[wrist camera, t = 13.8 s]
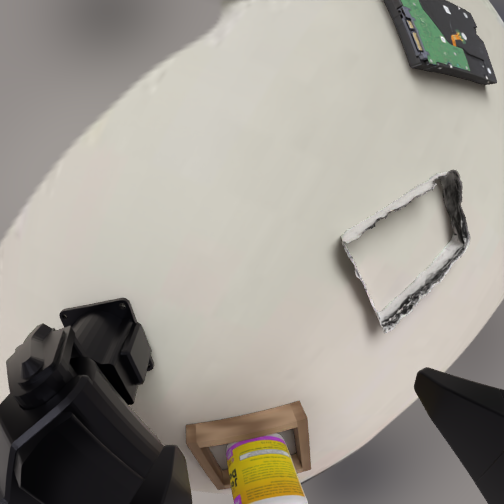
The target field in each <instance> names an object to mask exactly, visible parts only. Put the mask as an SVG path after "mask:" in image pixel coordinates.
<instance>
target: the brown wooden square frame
mask: <svg viewBox="0 0 504 504" xmlns="http://www.w3.org/2000/svg"><path fill="white" fill-rule="evenodd" d="M289 429H293V430H294V437H295V444H296V451H297V454H294V455H291V459H292V462H293V464H294V467H295V470H296V473H300V472H304V471H307V470H310V469H311V462H310V447H309V433H308V420H307V416H306V414H305V412H304V410H303V407H302V405H301V403H300V401H297V402H294V403H290V404H287V405H283V406H279V407H276V408H272V409H268V410H264V411H260V412H255V413H251V414H247V415H242V416H237V417H232V418H227V419H222V420H216V421H210V422H204V423H197V424H190V425H186V444H187V446H188V447H189V449H190V450H191V452H192V453H193V455H194V456H195V458H196V459H197V461H198V462H199V464H200V465H201V467H202V468H203V470H204V471H205V473H206V474H207V475H208V477H209V478H210V480H211V481H212V482H213V484H214V485H215V486H216V488H217V489H218V490H220V489H227V488H231V483H230V478H229V471H228V469H227V470H221V468H220V466H219V465H218V463H217V461H216V460H215V458H214V456H213V454H212V453H211V451H210V449H209V447H210V446H216V445H222V444H228V443H234V442H239V441H244V440H249V439H253V438H258V437H262V436H266V435H270V434H274V433H278V432H282V431H286V430H289Z"/></svg>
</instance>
